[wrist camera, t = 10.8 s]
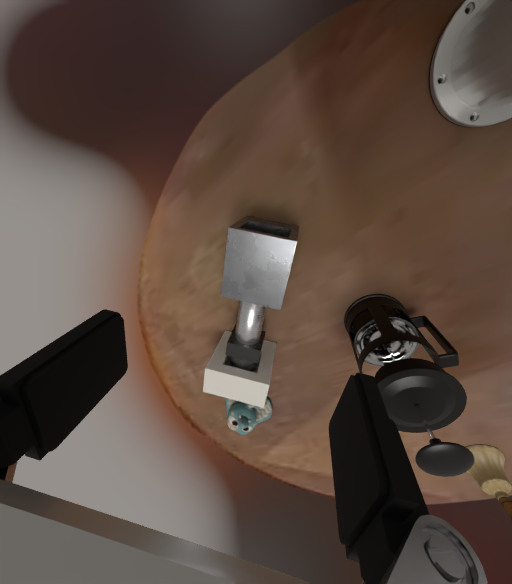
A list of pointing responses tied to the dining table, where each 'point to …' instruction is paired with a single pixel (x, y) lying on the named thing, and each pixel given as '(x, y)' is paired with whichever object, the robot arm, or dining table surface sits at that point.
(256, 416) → the stuffed animal
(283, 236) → the grey metal block
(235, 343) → the rod
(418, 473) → the dining table surface
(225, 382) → the socket
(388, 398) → the french press
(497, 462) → the hand bell
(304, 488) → the dining table surface
